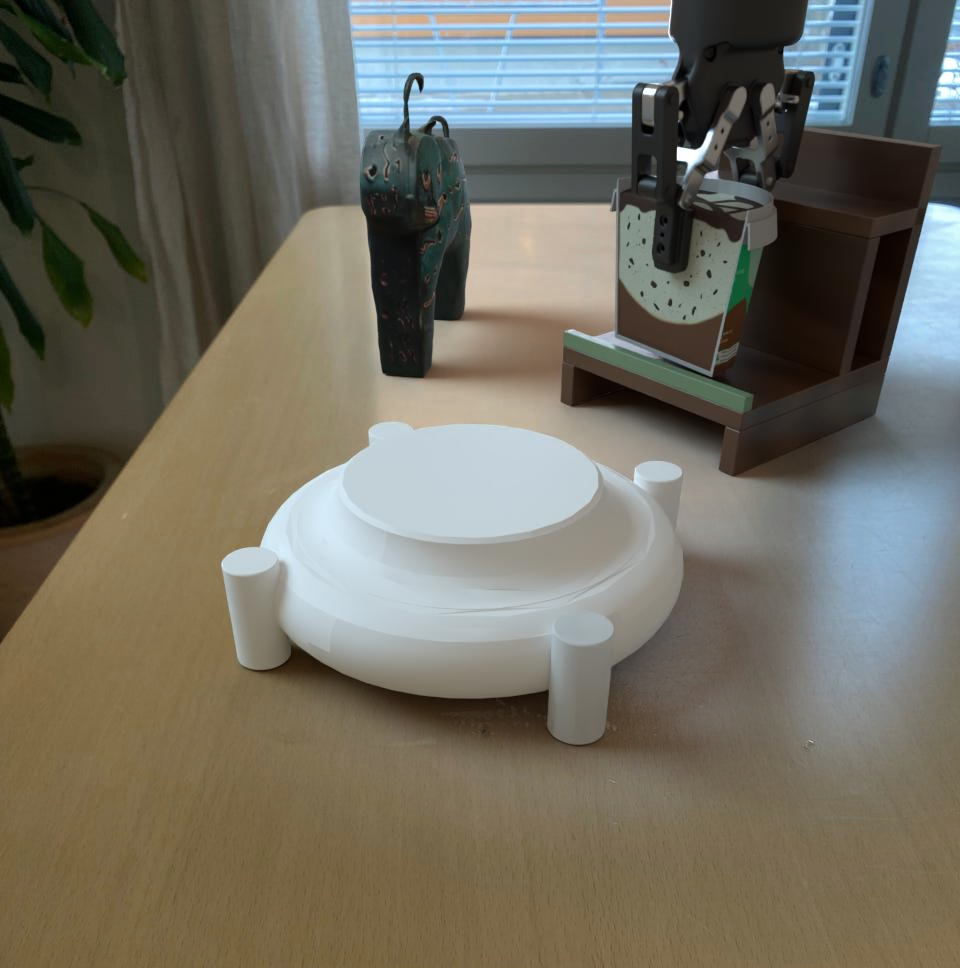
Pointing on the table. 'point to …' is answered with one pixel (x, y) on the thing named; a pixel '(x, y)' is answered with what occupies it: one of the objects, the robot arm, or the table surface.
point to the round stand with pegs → (466, 569)
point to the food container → (691, 274)
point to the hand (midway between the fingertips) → (705, 260)
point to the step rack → (797, 304)
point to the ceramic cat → (414, 236)
